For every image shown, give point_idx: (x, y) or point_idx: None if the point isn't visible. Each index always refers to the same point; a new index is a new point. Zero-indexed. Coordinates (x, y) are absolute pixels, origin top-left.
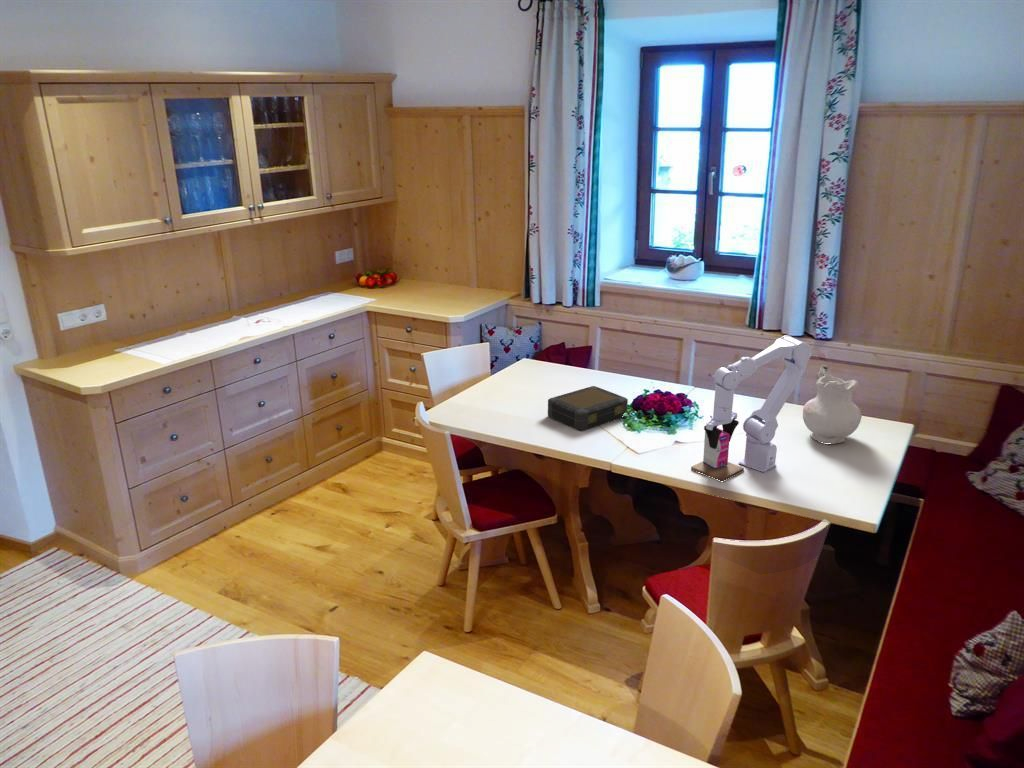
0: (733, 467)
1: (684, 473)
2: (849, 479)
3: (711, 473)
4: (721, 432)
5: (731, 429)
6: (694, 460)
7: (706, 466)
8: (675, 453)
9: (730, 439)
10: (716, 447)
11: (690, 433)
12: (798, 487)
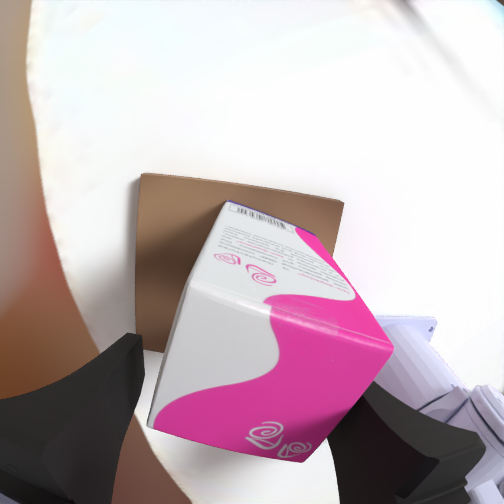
0: None
1: (92, 171)
2: None
3: (146, 291)
4: (293, 421)
5: (341, 483)
6: (265, 127)
7: (199, 235)
8: (280, 16)
9: None
10: (141, 381)
11: (491, 32)
12: (281, 475)
